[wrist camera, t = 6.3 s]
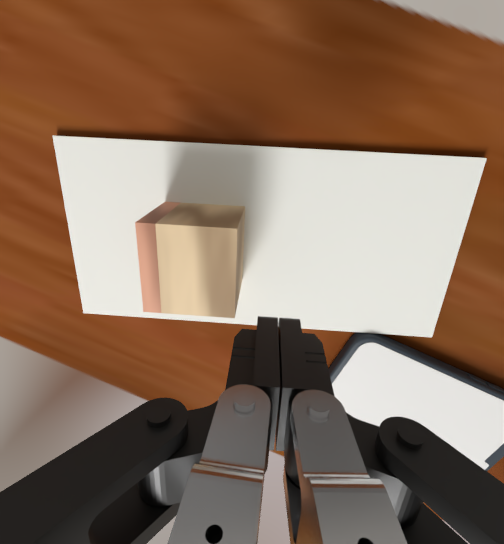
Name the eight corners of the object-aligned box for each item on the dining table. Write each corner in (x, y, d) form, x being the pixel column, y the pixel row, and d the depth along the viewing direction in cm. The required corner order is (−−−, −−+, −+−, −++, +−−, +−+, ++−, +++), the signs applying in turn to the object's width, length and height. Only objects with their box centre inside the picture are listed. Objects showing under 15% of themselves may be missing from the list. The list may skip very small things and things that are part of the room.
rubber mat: (482, 157, 19) (486, 158, 19) (429, 334, 24) (431, 337, 24) (56, 135, 20) (52, 135, 20) (86, 310, 25) (83, 313, 25)
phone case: (300, 400, 28) (462, 469, 30) (302, 415, 27) (472, 486, 28) (357, 318, 25) (537, 400, 26) (363, 330, 23) (552, 416, 25)
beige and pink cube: (237, 228, 16) (135, 222, 16) (234, 318, 18) (143, 311, 18) (245, 206, 21) (165, 201, 21) (242, 279, 23) (169, 274, 23)
